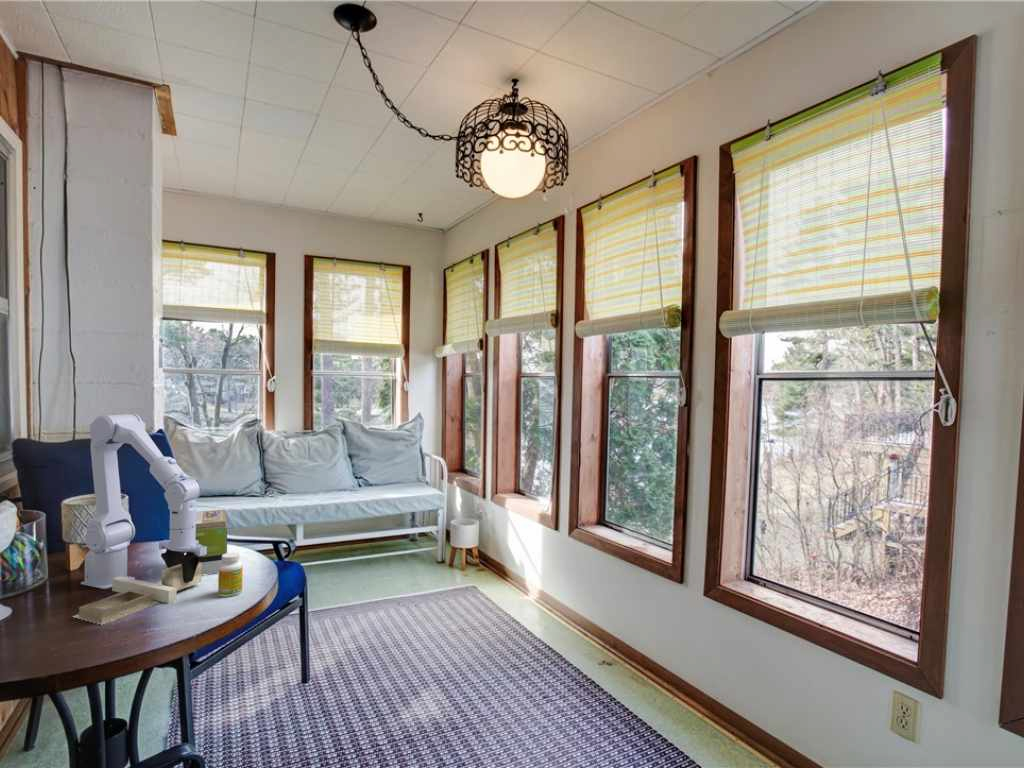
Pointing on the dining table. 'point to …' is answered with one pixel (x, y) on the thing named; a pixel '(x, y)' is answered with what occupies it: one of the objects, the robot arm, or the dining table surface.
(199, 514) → the tea box
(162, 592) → the board
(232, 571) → the supplement bottle
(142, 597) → the keeper
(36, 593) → the dining table surface
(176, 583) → the bar
